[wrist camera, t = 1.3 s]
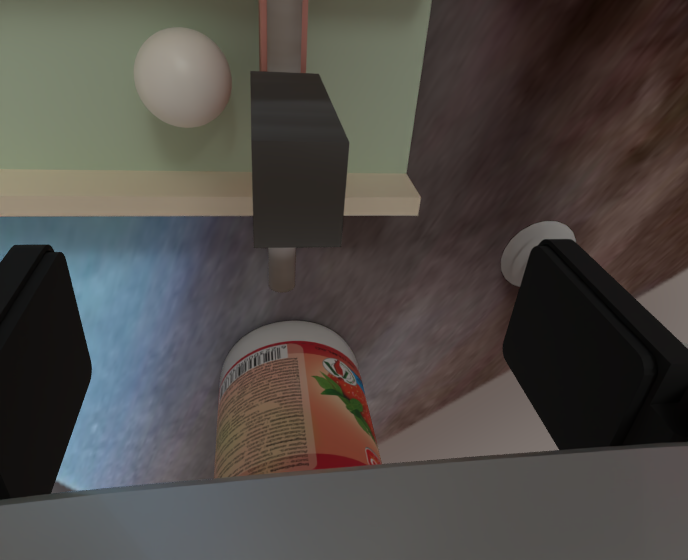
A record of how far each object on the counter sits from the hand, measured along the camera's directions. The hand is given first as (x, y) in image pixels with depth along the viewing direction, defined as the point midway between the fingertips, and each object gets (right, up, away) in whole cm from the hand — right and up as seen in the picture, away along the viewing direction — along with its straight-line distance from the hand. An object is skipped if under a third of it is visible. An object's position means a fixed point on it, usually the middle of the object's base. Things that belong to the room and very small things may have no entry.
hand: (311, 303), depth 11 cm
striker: (-2, +10, +14) cm, 17 cm away
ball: (-6, +9, +12) cm, 16 cm away
